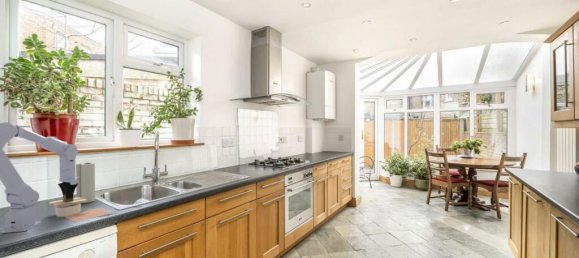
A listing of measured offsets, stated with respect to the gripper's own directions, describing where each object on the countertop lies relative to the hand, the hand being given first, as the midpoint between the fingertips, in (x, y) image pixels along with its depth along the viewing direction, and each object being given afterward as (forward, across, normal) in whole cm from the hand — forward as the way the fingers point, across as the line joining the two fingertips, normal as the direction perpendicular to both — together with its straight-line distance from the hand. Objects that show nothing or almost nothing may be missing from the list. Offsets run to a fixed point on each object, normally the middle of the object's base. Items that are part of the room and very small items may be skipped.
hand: (68, 197), depth 122 cm
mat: (+8, -10, -4) cm, 14 cm away
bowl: (+8, 0, 0) cm, 8 cm away
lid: (+2, 0, 0) cm, 2 cm away
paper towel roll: (+8, +16, -13) cm, 23 cm away
